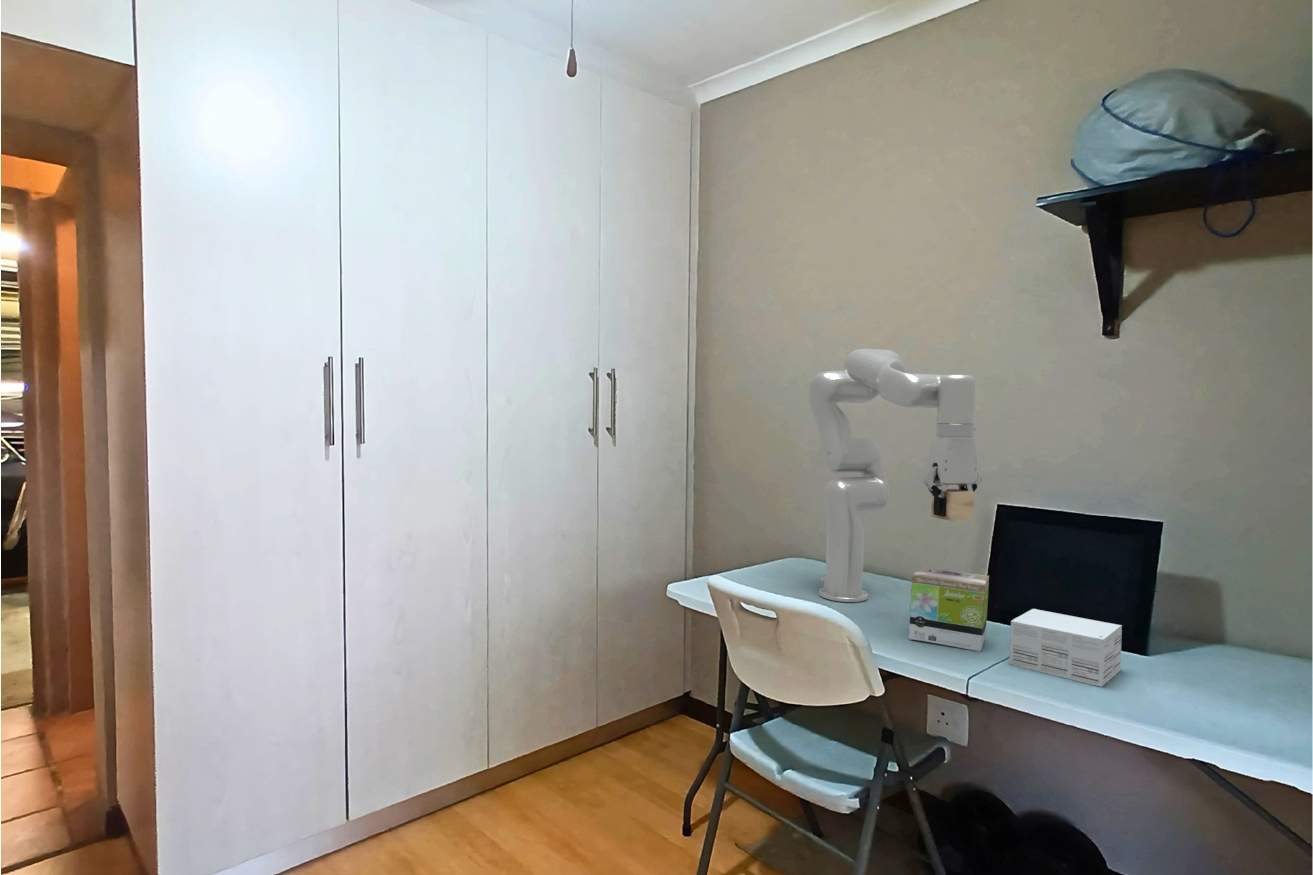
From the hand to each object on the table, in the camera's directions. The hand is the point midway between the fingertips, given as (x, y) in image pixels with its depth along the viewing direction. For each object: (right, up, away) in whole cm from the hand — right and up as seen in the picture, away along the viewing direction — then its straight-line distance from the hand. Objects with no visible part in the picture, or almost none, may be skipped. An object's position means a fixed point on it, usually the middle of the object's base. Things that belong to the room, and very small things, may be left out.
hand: (951, 514), depth 167 cm
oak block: (0, -1, 0) cm, 1 cm away
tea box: (0, -28, +2) cm, 28 cm away
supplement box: (+17, -29, -14) cm, 37 cm away
